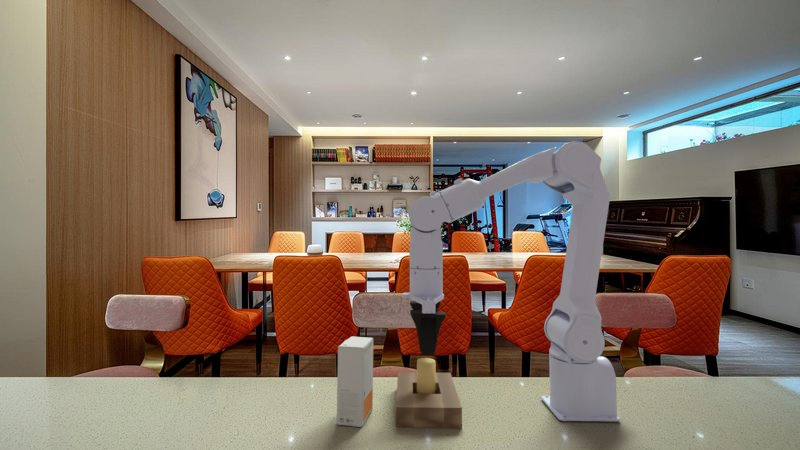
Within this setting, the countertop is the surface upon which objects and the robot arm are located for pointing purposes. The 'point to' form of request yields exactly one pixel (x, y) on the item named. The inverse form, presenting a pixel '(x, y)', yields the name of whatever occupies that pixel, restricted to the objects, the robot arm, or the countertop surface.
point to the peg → (426, 376)
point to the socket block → (427, 403)
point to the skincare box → (355, 381)
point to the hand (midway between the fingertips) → (426, 347)
